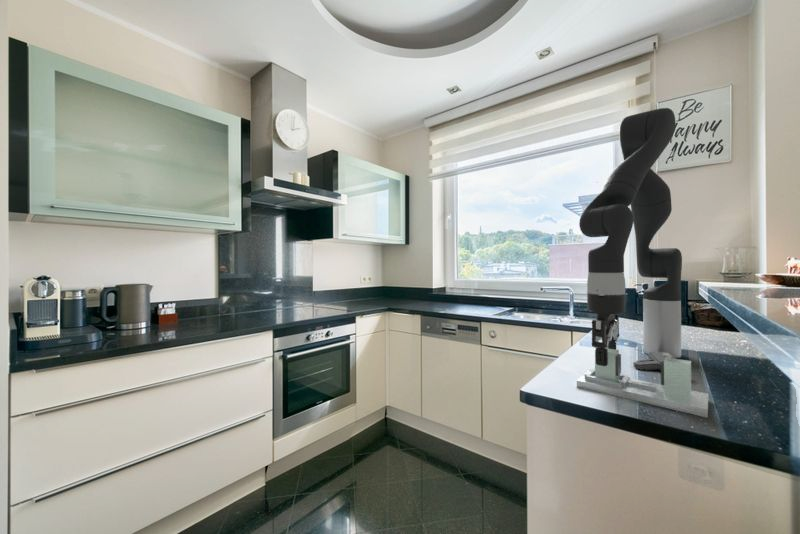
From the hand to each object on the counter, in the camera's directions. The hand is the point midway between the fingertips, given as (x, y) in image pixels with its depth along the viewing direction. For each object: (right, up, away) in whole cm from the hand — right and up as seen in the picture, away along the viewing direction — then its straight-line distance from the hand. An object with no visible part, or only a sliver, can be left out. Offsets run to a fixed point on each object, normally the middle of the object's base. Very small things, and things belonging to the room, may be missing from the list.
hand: (606, 360), depth 75 cm
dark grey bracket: (+22, -6, +13) cm, 26 cm away
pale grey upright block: (0, -4, 0) cm, 4 cm away
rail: (+4, -6, -4) cm, 8 cm away
